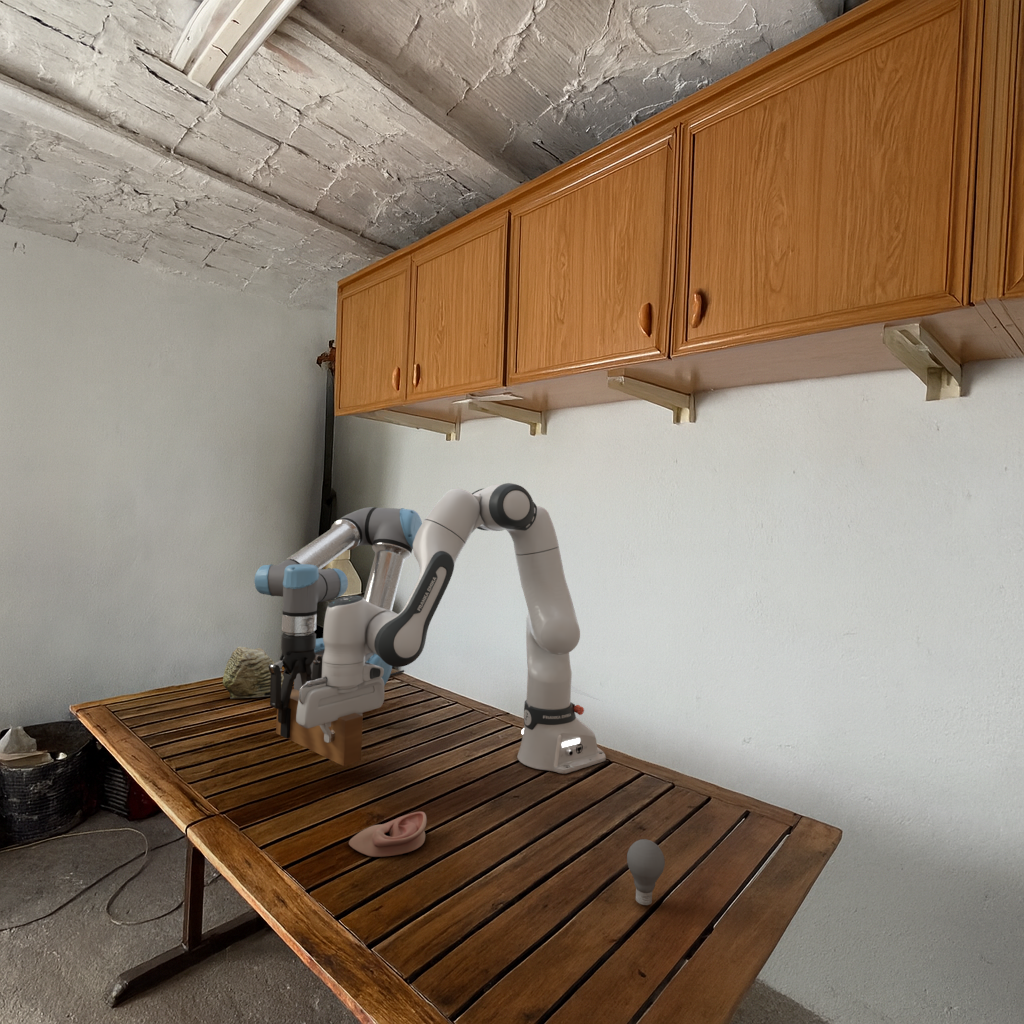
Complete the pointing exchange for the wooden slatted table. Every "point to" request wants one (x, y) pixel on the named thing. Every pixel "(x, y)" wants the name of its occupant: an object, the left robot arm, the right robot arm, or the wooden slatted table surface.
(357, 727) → the bar
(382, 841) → the anatomical model
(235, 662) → the fossil
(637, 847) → the light bulb
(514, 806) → the wooden slatted table surface
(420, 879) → the wooden slatted table surface
